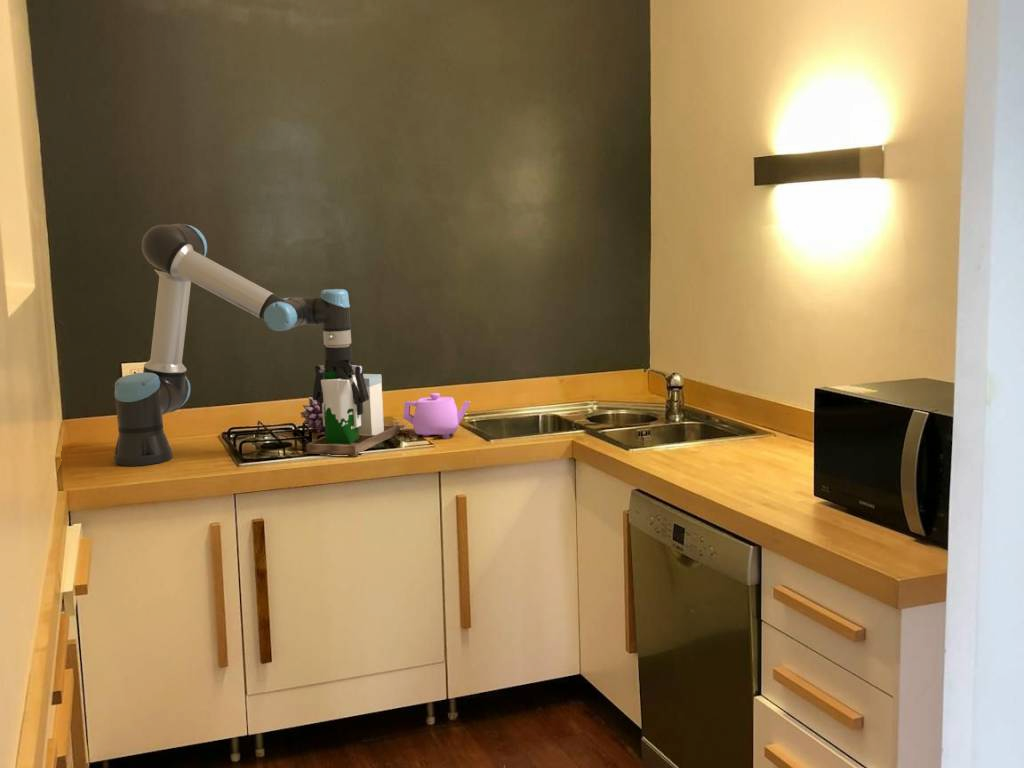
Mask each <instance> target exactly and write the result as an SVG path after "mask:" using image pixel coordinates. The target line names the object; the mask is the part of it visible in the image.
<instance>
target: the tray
mask: <svg viewBox="0 0 1024 768" xmlns="http://www.w3.org/2000/svg"><path fill="white" fill-rule="evenodd" d="M398 432H400V433H401V426H400V424H399V425H395V424H392V425H391V424H384V431H383V432H381V433H379V434H377V435H363V434H359V439H358V440H356V441H354V442H353V443H351V444H326V435H324V436H322V437H320V438H317V439H315V440H312V441H310V442H308V443H306V444H305V449H306V450H305V452H306V455H307V454H330V455H348V456H352V457H351V458H357V457H359V456H361V455H363V453H362V452H363V451H366V450H368V449H370V448H372V447H374V446H376V445H378V444H380V443H383V442H385V441H386V440H387V441H388V439H391V438H392V437H395V436H396V435H395V434H397V433H398ZM394 435H395V436H394ZM397 435H398V434H397ZM360 454H361V455H360ZM358 455H359V456H358Z"/></svg>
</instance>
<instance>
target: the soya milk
mask: <svg viewBox="0 0 1024 768" xmlns="http://www.w3.org/2000/svg"><path fill="white" fill-rule="evenodd" d="M353 381H354V382H355V384H356V386H357V381H356V377H355V376H353V378H351V379H348V380H345V379H342V378H336V371H334V372H333V373H332V372H328V371H326V370H325V371H324V377H323V379H322V380H321V385H322V391H323V402H324V419H325V428H324V433H325V436H326V444H351V443H353V442H354V441H356V440H358V439H359V427H354V412H353V404H355V403H356V402H355V400H354V398H353V392H352V386H351V385H352V383H353ZM322 391H321V392H322Z"/></svg>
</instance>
